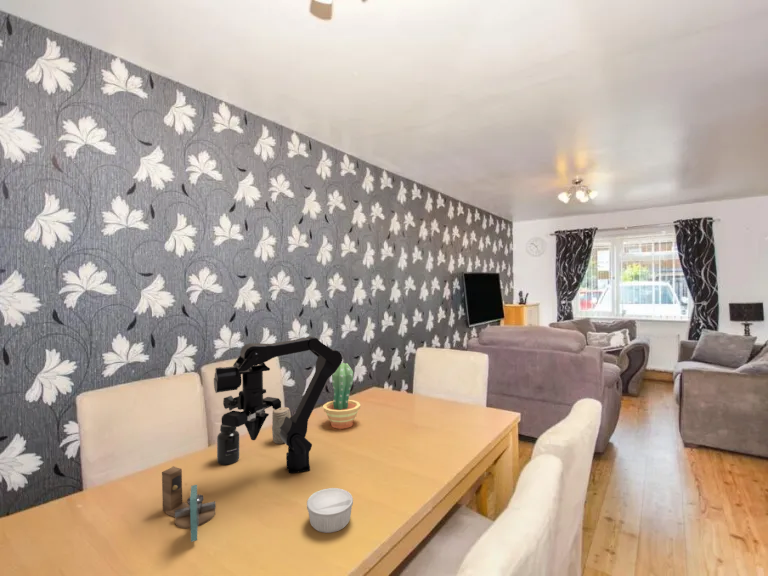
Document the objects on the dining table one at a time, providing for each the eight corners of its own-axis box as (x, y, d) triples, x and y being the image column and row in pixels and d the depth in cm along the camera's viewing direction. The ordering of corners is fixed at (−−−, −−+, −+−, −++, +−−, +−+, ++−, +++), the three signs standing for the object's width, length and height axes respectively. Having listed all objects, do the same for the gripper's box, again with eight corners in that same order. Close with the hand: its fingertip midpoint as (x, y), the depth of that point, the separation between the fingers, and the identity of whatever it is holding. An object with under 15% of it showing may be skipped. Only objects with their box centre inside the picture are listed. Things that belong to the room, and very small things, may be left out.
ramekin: (333, 542, 86) (333, 519, 86) (297, 526, 92) (296, 504, 91) (362, 516, 95) (362, 495, 95) (327, 503, 101) (327, 483, 101)
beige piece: (268, 444, 139) (268, 411, 138) (279, 436, 146) (278, 405, 146) (284, 446, 137) (284, 412, 137) (294, 437, 144) (293, 406, 144)
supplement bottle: (231, 466, 122) (231, 428, 122) (212, 464, 124) (212, 427, 124) (243, 456, 129) (243, 421, 129) (225, 455, 130) (224, 420, 130)
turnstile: (215, 498, 102) (214, 463, 102) (216, 535, 87) (215, 494, 87) (176, 507, 98) (175, 470, 98) (170, 547, 83) (169, 504, 83)
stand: (183, 498, 104) (183, 461, 104) (223, 511, 98) (222, 472, 98) (151, 517, 96) (150, 477, 96) (192, 532, 90) (191, 489, 90)
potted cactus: (368, 422, 160) (367, 362, 160) (345, 434, 147) (344, 369, 147) (339, 415, 168) (338, 358, 168) (315, 427, 155) (314, 365, 155)
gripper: (254, 377, 125) (255, 425, 125) (206, 392, 108) (207, 447, 108) (281, 380, 120) (282, 430, 120) (236, 396, 103) (237, 454, 103)
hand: (253, 439), depth 113 cm, fingers closed
